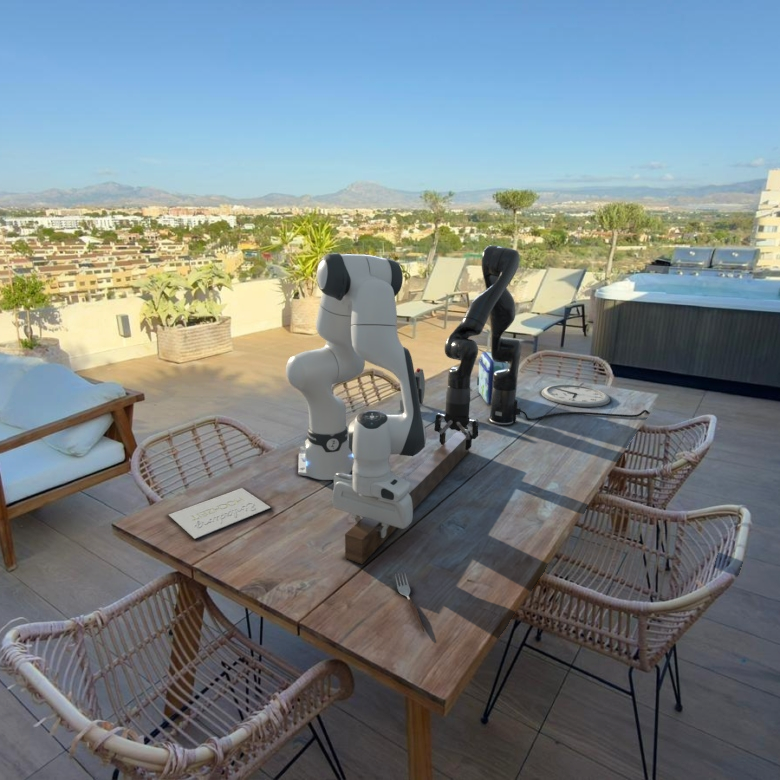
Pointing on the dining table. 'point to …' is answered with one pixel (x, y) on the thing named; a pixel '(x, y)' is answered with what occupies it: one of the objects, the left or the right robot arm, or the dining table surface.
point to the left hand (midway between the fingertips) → (371, 532)
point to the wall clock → (575, 395)
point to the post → (422, 482)
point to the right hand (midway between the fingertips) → (455, 446)
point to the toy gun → (420, 387)
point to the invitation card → (218, 512)
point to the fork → (406, 591)
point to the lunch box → (487, 375)
